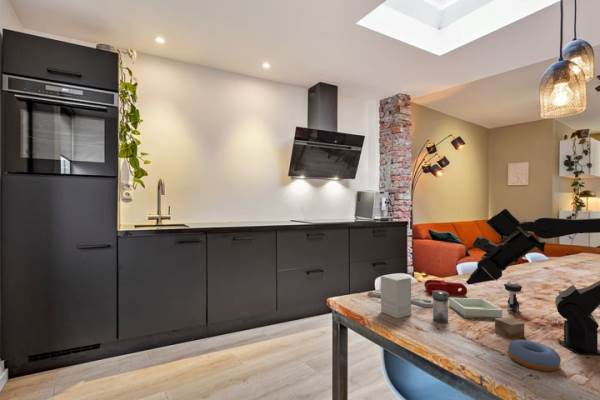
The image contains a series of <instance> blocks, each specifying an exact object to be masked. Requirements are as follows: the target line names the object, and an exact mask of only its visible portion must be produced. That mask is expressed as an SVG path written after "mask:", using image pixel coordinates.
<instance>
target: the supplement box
mask: <svg viewBox="0 0 600 400" xmlns="http://www.w3.org/2000/svg"><path fill="white" fill-rule="evenodd" d="M380 293H381V298H380V312H381V313H383V314H386V315H388V316H390V317H393V318H395V319H400V318H404V317H408V316H411V315H412V303H411V298H412V278H411V277H409V276H404V275H401V274H396V273H393V274H386V275H381V276H380Z"/></svg>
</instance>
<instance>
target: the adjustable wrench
mask: <svg viewBox="0 0 600 400" xmlns="http://www.w3.org/2000/svg"><path fill="white" fill-rule="evenodd" d="M367 295H368V296H369V297H374V298H380V299H381V292H374V291H368V292H367ZM411 304H413V305H416V306H419V307H422V308H423V307H424V308H433V302H432V299H427V298H421V297H419V298H418V297H417V298H413V297H411Z"/></svg>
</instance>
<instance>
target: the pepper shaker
mask: <svg viewBox="0 0 600 400" xmlns="http://www.w3.org/2000/svg"><path fill="white" fill-rule="evenodd" d="M431 296H432V303H433V307H432V320H433V321H434V322H437V323H441V324H446V323H448V322H449V298H450V295H449V293H448V292H445V291H439V290H435V291H432V295H431Z"/></svg>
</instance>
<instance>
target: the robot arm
mask: <svg viewBox="0 0 600 400" xmlns="http://www.w3.org/2000/svg"><path fill="white" fill-rule="evenodd" d="M485 224H486V225H487V226H488V227H489V228H491V229H492V230H493V232H495V233H496V234H497V235H498V237H505V238H508V237H510V236H511V235H512V236H511V237H510V238H508V239H507V240H506V241H504V242H500V243H498V244H496V243H494V242H492V241H491V240H490V239H489V238H486V237H485V236H484V237H482V236H481V235H480V236H479V235H477V236H476V238H475V240H473V242H472V245H471V246H472V247H473V248H476V249H478V250H481V251H482V252H485V253H484V254H483V255H482V256H481V259H480V260H478V262H477V264H476V265H477V267H476V269H475V270H474V271H473V272H472V273H471V274H470V275H469V278H467V280H465V281H466V282H465V283H466V284H467V285H468V286H469V285H474V284H475V285H476V284H478V283H486V282H491V281H492V282H494V281H497V280H499V279H500V278H502V277H503V272H504V271H506V270H507V268H509V267H510V266H511V265H513V264H514V263H517V262H519V260H520V259H521V258H523V257H524V256H526V255H527V254H529V253H530V252H532V251H534V250H535V249H536V248H537V250H539V251H540V252H541V253H545V248H546V247H545V246H546V245H547V243H546V242H545V241H540V240H538V239H537V237H538V238H540V239H545V240H546V239H548V240H549V239H555V238H561V237H566V236H569V235H570V236H571V235H576V234H596V233H597V234H598V233H600V217H597V218H595V217H594V218H578V219H577V218H576V219H573V218H572V219H571V218H559V217H547V216H542V217H537V218H536V219H534V220H533V221H525V220H524V221H520V220H518V219H517V218H516V217H515V216H514V215H513V214H512V213H511V212H510V211H509V210H508V209H507V208H504V209H502V210H500V212H499V213H497V214H495V215H493V216H492V217H491V218H489V219H488V220H487V221H486V222H485ZM519 227H520V228H519ZM521 229H522V230H521ZM523 230H524V231H525V232H531V233H533V234H529V235H527V234H526V233H525V232H523ZM517 231H518V232H517ZM515 232H517V233H515ZM513 233H515V234H514V235H513ZM554 303H555V306H556V310H557V312H558V314H559V316H561V317H562V318H563V319H564V321H563V322H564V323H563V324H564V325H563V340H558V343H559V344H560V345H561V346H564V347H565V348H567V349H568V350H570V351H572V352H574V353H576V354H577V355H578V354H579V355H599V356H600V349H599V348H598V347H599V345H598V343H599V342H598V340H599V337H598V335H599V334H598V329H599V327H600V325H599V323H598V322H597V320H596V319H595V317H594V316H593V314H592V313H593V312H595V310H597V309H598V308H599V306H600V280H598V281H595V282H594V283H592V284H591V285H588V286H585V287H582V288H577V287H576V286H575V285H574V284H572V285H570V286H569V287H568V288H567V289H565V290H562V291H560V290H559V291H558V295H557V296H556V297H555V302H554Z"/></svg>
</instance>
